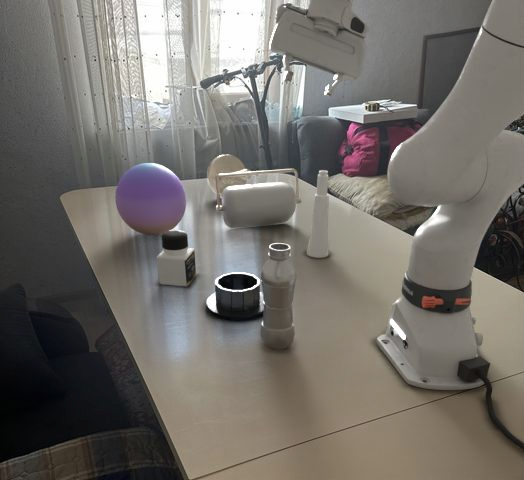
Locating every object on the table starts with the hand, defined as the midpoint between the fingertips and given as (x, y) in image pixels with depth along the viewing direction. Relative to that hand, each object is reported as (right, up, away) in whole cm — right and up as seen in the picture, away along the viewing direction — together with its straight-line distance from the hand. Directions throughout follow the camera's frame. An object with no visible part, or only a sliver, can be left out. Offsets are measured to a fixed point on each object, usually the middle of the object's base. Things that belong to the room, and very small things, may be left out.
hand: (307, 88), depth 109 cm
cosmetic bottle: (+5, -29, +31) cm, 43 cm away
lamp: (-16, -9, +63) cm, 66 cm away
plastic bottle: (-7, -55, -9) cm, 56 cm away
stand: (-15, -46, +5) cm, 49 cm away
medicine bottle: (-30, -39, +16) cm, 52 cm away
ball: (-42, -21, +44) cm, 64 cm away
